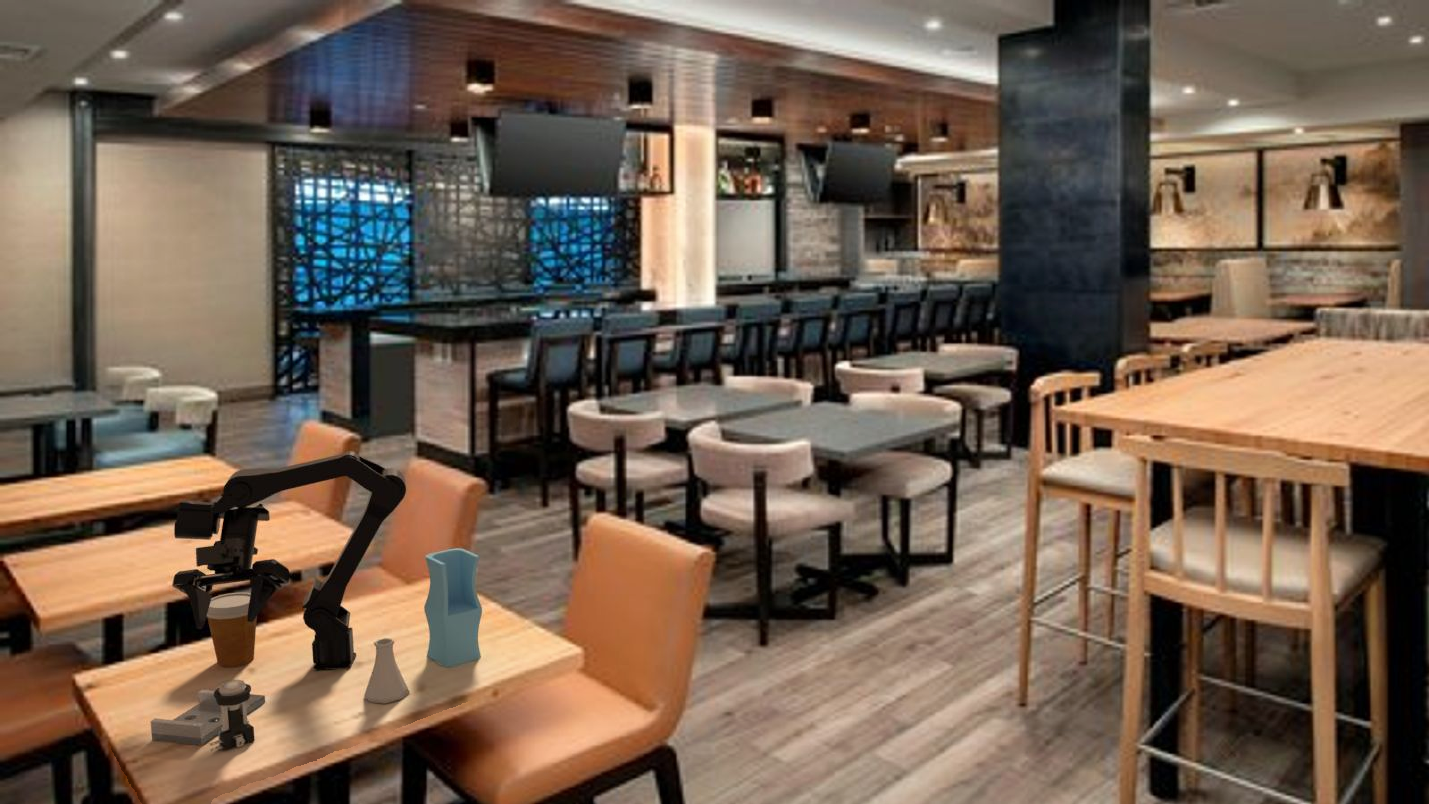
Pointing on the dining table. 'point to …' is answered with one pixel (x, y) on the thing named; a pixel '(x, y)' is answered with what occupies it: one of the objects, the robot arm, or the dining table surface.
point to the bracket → (197, 721)
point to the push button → (233, 715)
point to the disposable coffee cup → (232, 629)
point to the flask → (385, 675)
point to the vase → (453, 607)
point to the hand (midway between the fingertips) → (224, 625)
